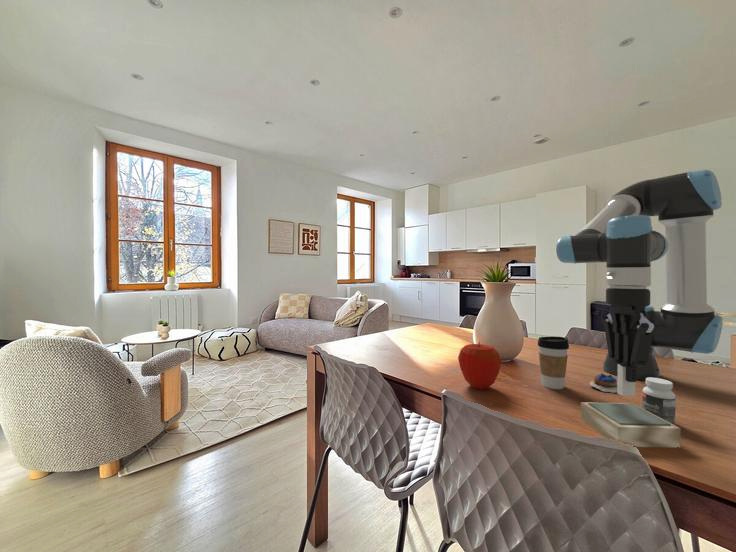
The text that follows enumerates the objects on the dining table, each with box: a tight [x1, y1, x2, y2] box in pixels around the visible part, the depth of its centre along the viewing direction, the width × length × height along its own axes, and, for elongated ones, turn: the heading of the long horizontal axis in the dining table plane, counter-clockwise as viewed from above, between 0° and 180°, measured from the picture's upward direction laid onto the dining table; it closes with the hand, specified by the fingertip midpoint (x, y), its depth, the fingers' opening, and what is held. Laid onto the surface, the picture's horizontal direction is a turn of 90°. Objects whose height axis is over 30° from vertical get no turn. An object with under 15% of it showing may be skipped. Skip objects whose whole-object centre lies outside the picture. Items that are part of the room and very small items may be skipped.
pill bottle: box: [641, 377, 677, 426], centre depth 73 cm, size 6×6×10 cm
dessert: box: [589, 372, 617, 394], centre depth 94 cm, size 8×7×6 cm
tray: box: [580, 401, 682, 449], centre depth 69 cm, size 12×12×4 cm
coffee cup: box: [537, 336, 570, 390], centre depth 97 cm, size 8×8×15 cm
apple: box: [457, 341, 502, 391], centre depth 96 cm, size 12×12×14 cm
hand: (626, 394), depth 69 cm, fingers closed
